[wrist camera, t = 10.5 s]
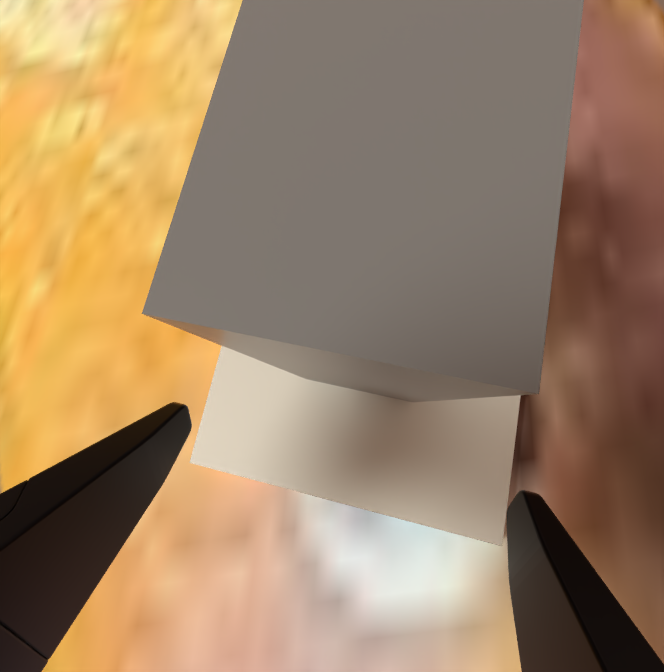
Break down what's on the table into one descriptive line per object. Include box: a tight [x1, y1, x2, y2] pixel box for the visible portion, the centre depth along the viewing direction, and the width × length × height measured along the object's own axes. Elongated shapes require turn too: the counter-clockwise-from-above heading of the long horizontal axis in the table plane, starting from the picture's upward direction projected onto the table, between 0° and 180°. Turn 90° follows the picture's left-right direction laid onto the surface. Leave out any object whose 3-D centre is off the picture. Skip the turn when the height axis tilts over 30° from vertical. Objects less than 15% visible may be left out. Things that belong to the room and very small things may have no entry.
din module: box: [142, 0, 584, 402], centre depth 11 cm, size 6×5×12 cm
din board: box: [190, 346, 521, 546], centre depth 17 cm, size 16×14×1 cm
